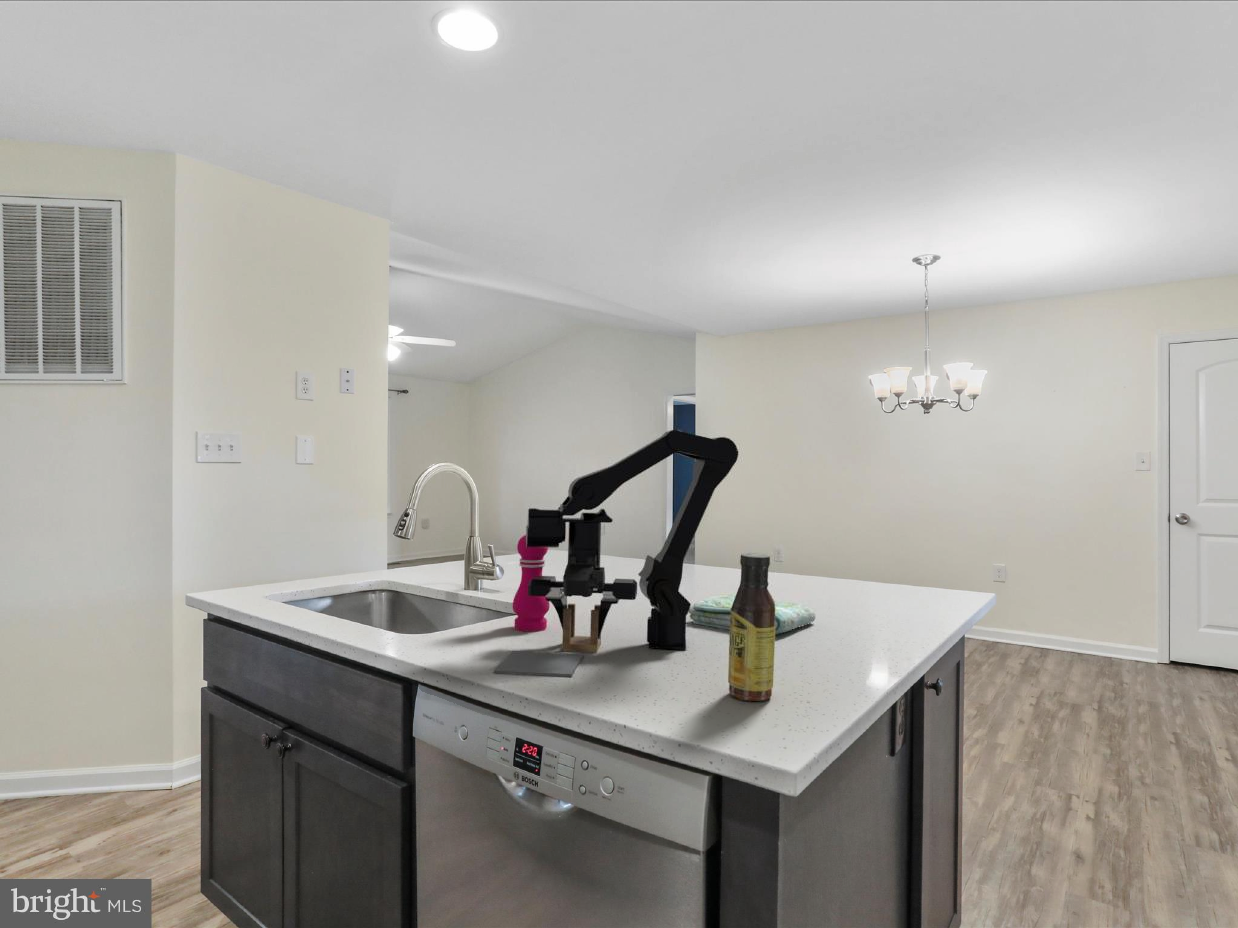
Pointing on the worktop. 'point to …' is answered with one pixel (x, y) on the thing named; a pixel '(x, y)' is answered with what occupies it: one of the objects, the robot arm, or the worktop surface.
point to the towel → (719, 613)
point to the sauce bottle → (752, 632)
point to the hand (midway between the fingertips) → (582, 636)
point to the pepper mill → (523, 604)
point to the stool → (580, 642)
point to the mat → (539, 663)
